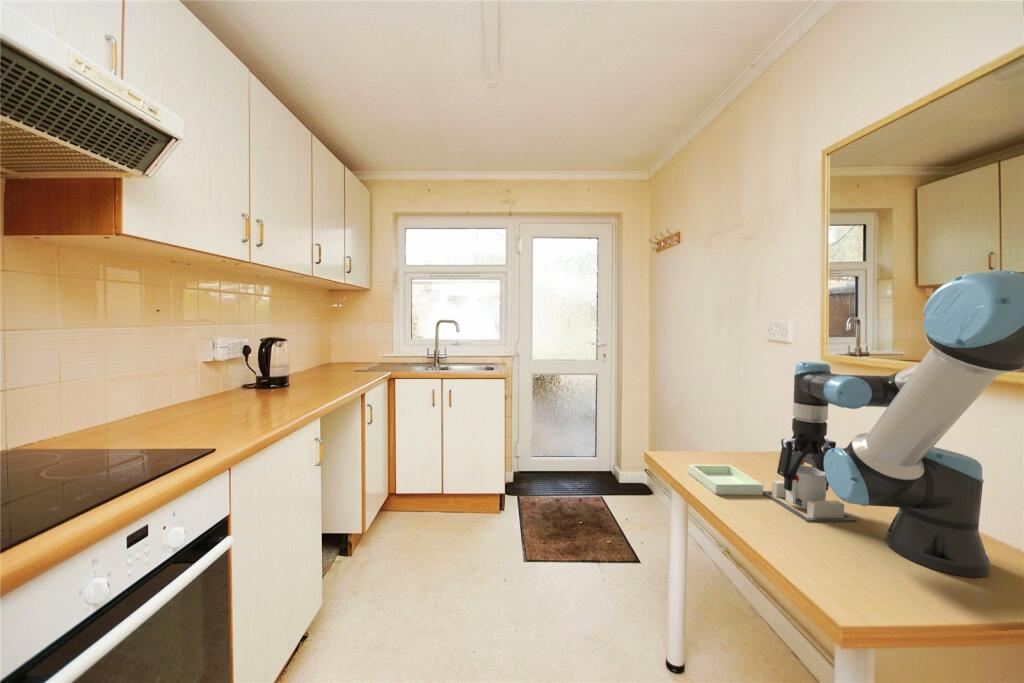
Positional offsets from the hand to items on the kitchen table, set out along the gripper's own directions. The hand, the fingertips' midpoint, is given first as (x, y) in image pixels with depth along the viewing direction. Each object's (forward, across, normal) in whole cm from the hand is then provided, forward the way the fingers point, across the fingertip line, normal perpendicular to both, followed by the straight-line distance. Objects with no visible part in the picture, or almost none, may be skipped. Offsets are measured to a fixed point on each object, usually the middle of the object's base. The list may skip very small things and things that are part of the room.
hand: (805, 501), depth 107 cm
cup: (+1, 0, 0) cm, 1 cm away
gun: (+2, -23, -17) cm, 29 cm away
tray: (+1, +14, -15) cm, 21 cm away
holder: (+1, 0, 0) cm, 1 cm away
